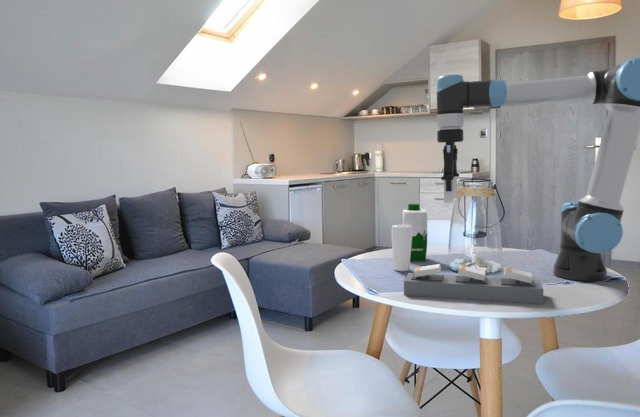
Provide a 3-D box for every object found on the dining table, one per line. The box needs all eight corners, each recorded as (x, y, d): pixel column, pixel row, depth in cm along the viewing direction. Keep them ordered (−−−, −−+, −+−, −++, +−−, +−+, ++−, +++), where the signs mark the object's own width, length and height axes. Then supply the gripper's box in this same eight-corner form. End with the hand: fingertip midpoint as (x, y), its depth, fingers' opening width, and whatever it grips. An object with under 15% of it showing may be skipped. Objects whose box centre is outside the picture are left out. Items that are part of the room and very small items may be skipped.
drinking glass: (387, 270, 180) (387, 225, 178) (400, 266, 184) (400, 223, 182) (402, 273, 175) (402, 228, 173) (416, 270, 179) (416, 225, 177)
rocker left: (441, 269, 153) (440, 263, 153) (439, 273, 148) (438, 267, 148) (417, 272, 155) (415, 267, 155) (415, 277, 150) (413, 271, 150)
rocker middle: (483, 276, 150) (485, 270, 149) (483, 280, 145) (485, 274, 145) (458, 270, 152) (460, 264, 151) (457, 274, 147) (459, 268, 147)
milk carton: (424, 256, 200) (424, 203, 198) (428, 261, 191) (429, 206, 189) (401, 256, 200) (401, 203, 198) (403, 262, 192) (404, 206, 189)
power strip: (539, 293, 148) (539, 276, 148) (542, 304, 139) (543, 285, 138) (408, 286, 159) (408, 269, 158) (403, 295, 149) (403, 277, 149)
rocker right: (529, 278, 146) (531, 272, 146) (531, 283, 142) (533, 277, 141) (503, 272, 148) (505, 266, 148) (504, 276, 143) (505, 270, 143)
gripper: (441, 130, 171) (441, 196, 174) (432, 128, 148) (433, 204, 150) (465, 129, 169) (465, 196, 171) (460, 127, 146) (461, 204, 148)
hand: (450, 200), depth 161 cm, fingers open, 13 cm apart
